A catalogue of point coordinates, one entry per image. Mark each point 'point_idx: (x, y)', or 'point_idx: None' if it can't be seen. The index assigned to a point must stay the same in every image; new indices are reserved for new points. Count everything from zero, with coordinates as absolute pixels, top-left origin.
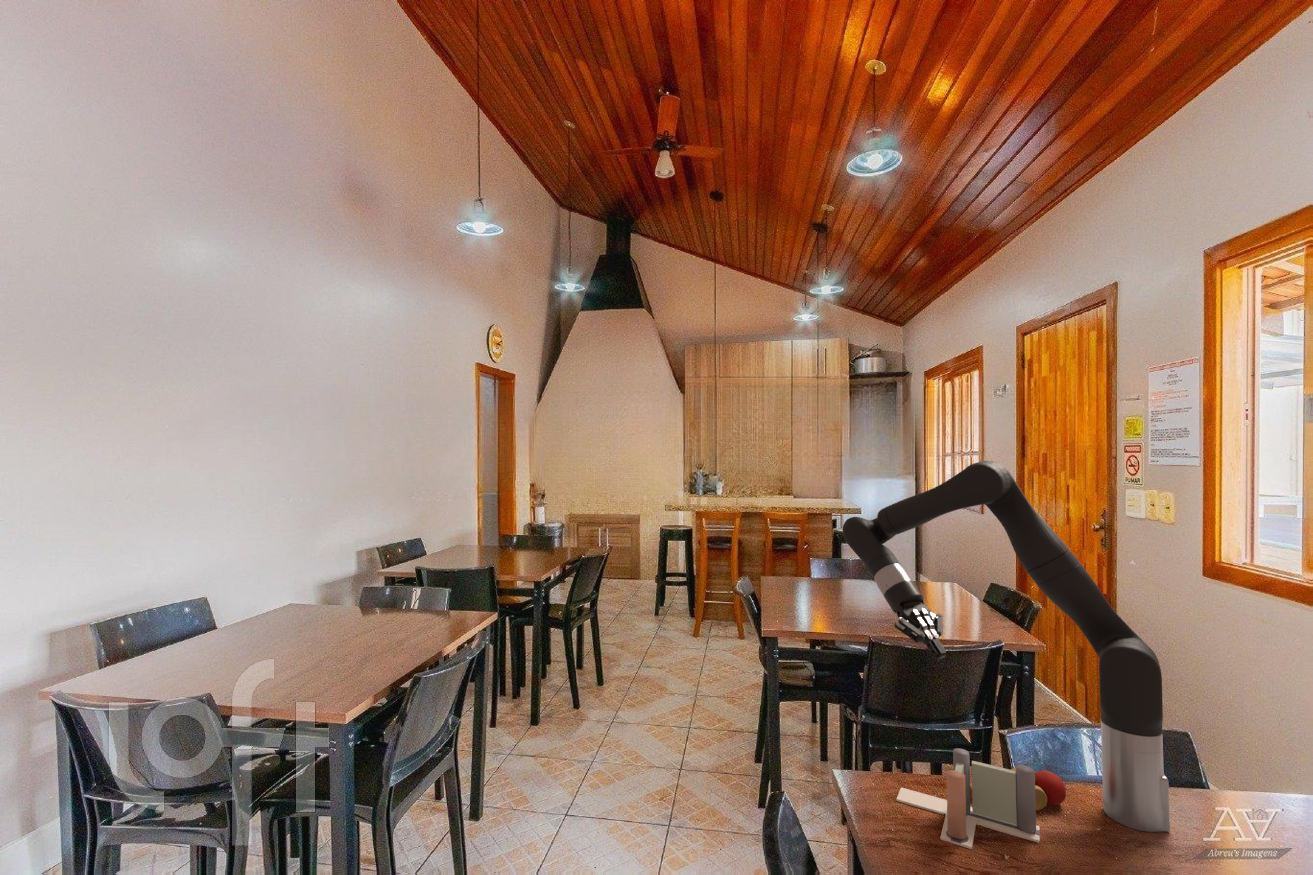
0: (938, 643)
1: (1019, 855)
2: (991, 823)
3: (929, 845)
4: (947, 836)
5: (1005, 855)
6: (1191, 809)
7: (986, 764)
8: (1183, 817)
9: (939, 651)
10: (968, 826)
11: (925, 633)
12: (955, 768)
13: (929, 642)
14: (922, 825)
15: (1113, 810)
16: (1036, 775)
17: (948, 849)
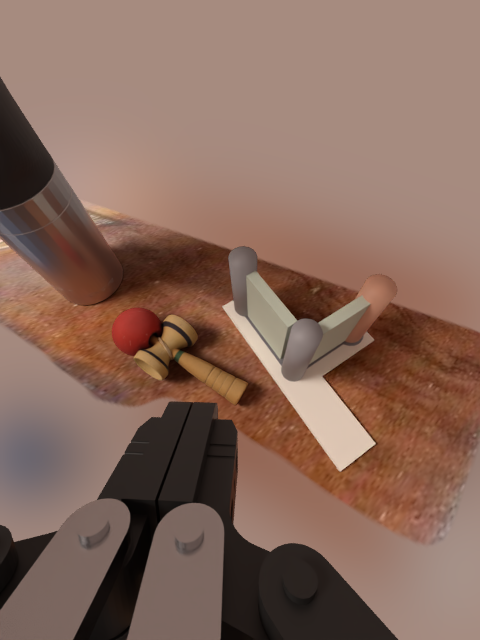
0: (162, 457)
1: (298, 285)
2: None
3: (397, 338)
4: (362, 337)
5: (314, 291)
6: (12, 264)
7: (274, 307)
8: None
9: (213, 418)
10: None
11: (220, 600)
12: (345, 319)
13: (230, 506)
14: (376, 373)
15: (116, 276)
16: (144, 332)
17: (377, 323)
